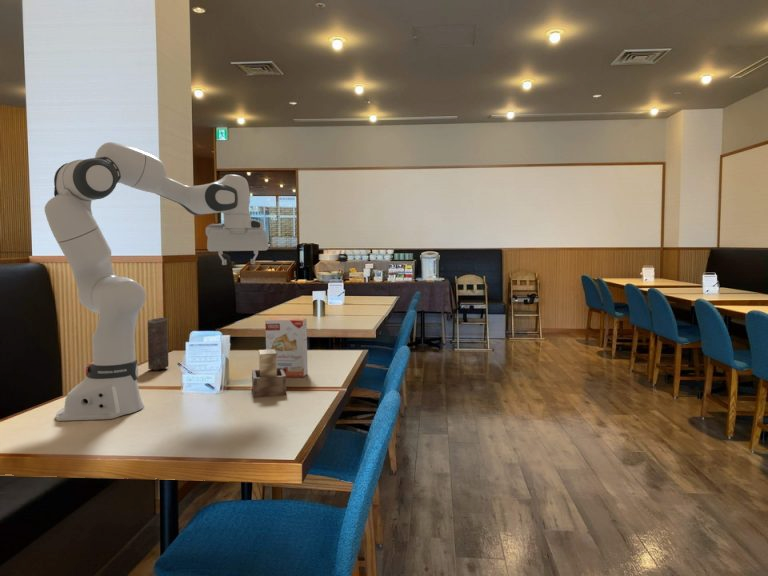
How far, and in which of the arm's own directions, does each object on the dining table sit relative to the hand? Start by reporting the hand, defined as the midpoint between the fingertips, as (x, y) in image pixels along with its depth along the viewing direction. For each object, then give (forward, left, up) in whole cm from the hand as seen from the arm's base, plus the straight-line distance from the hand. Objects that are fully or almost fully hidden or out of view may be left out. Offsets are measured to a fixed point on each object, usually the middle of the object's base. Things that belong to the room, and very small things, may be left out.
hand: (238, 264), depth 191 cm
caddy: (+8, -14, -41) cm, 44 cm away
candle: (-31, +34, -41) cm, 62 cm away
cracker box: (+16, +7, -41) cm, 45 cm away
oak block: (+8, -14, -40) cm, 43 cm away
